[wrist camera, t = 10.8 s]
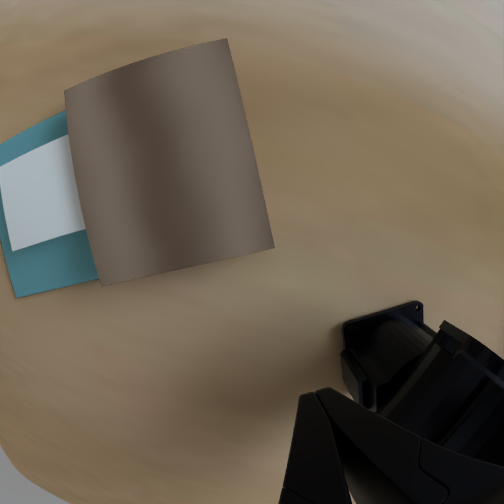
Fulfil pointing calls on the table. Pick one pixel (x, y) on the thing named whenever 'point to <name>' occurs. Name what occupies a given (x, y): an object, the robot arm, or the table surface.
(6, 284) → the table surface
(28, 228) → the tile
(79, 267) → the mat
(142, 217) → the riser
